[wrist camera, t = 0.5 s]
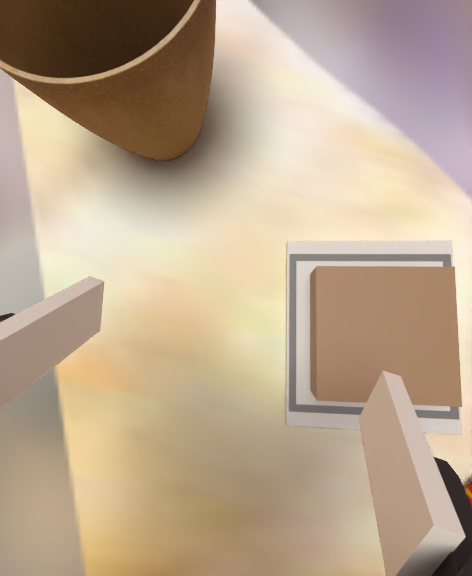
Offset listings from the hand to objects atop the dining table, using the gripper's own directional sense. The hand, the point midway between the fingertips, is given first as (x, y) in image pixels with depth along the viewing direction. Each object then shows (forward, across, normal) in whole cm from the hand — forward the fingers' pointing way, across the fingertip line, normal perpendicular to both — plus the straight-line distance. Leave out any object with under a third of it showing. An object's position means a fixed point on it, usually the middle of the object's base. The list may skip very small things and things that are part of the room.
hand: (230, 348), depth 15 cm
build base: (+15, -10, +4) cm, 19 cm away
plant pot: (+22, +14, -8) cm, 27 cm away
